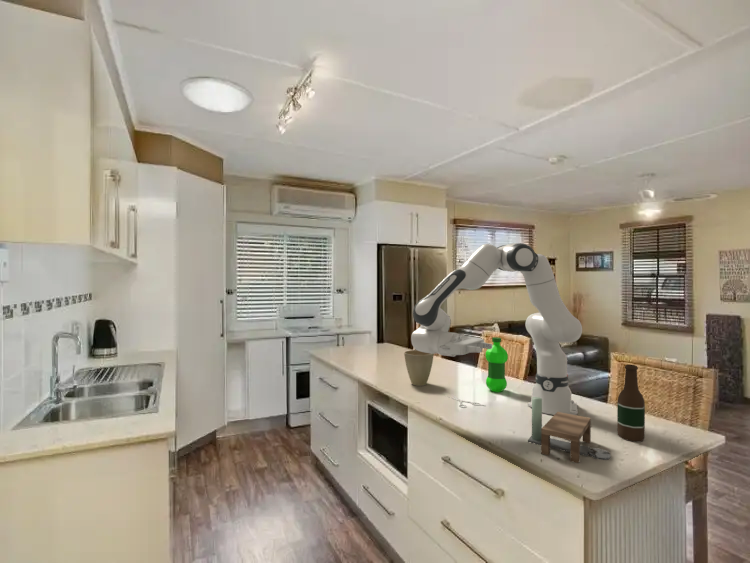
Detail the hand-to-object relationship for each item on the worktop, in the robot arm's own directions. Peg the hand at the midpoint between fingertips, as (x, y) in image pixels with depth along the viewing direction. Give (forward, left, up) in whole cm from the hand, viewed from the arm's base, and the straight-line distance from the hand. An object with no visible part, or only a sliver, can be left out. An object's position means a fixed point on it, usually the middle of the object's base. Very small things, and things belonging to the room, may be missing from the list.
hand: (486, 348), depth 139 cm
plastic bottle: (-50, -15, -28) cm, 59 cm away
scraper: (0, +24, -28) cm, 37 cm away
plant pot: (-37, -50, -28) cm, 68 cm away
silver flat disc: (0, +35, -28) cm, 45 cm away
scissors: (-24, -21, -29) cm, 43 cm away
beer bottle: (-22, +41, -28) cm, 54 cm away
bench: (0, +26, -28) cm, 38 cm away
